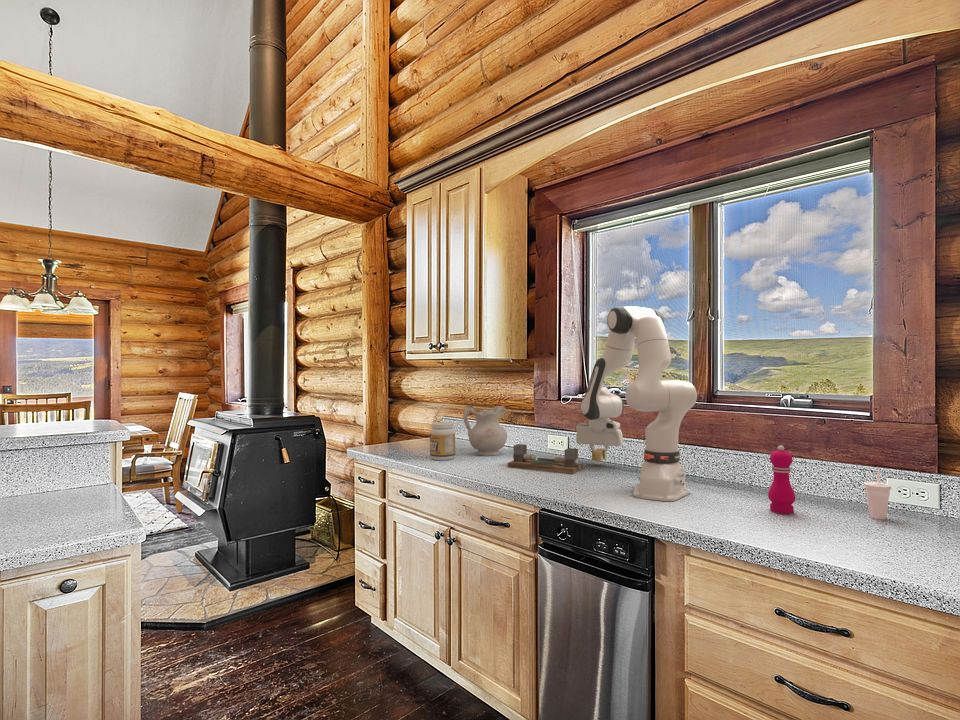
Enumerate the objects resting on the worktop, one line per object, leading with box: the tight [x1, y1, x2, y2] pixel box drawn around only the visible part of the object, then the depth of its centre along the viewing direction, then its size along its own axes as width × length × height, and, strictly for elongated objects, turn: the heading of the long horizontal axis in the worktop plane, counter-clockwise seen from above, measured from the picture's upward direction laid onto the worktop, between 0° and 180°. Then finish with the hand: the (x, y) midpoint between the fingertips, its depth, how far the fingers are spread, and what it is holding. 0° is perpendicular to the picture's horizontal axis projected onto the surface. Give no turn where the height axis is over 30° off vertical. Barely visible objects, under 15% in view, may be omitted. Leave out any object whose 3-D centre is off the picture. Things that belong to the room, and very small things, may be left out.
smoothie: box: [863, 468, 892, 521], centre depth 151 cm, size 6×6×14 cm
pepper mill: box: [767, 445, 796, 515], centre depth 158 cm, size 7×7×20 cm
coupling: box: [591, 447, 608, 462], centre depth 228 cm, size 4×8×4 cm, turn 149°
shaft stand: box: [507, 443, 584, 475], centre depth 225 cm, size 12×30×9 cm, turn 59°
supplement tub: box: [429, 421, 456, 461], centre depth 250 cm, size 12×12×17 cm
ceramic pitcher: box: [462, 404, 508, 457], centre depth 260 cm, size 22×20×25 cm
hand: (599, 455), depth 228 cm, fingers closed on coupling, 3 cm apart
